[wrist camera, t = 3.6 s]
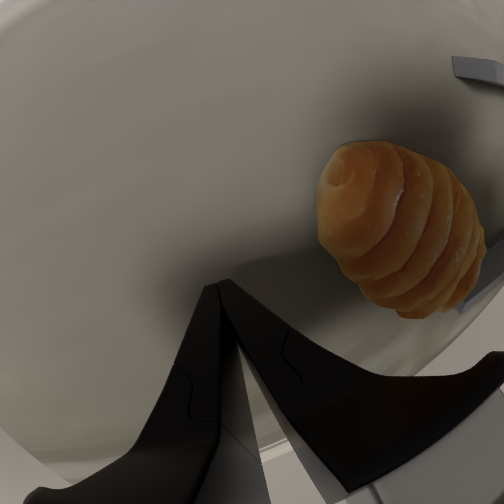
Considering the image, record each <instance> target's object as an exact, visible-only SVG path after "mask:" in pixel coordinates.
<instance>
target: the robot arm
mask: <svg viewBox="0 0 504 504" xmlns="http://www.w3.org/2000/svg"><path fill="white" fill-rule="evenodd" d="M236 340H237V341H236ZM237 343H238V344H237ZM238 345H239V347H240V350H241V352H242V354H243V356H244V358H245V360H246V362H247V364H248V366H249V368H250V370H251V372H252V374H253V376H254V378H255V380H256V382H257V383H258V385H259V387H260V389H261V391H262V393H263V395H264V397H265V399H266V401H267V402H268V404H269V406H270V408H271V410H272V412H273V414H274V415H275V417H276V419H277V421H278V423H279V425H280V426H281V428H282V430H283V432H284V434H285V435H286V437H287V439H288V441H289V442H290V444H291V446H292V448H293V449H294V451H295V452H296V454H297V456H298V458H299V460H300V461H301V463H302V464H303V466H304V468H305V470H306V471H307V473H308V475H309V476H310V478H311V479H312V481H313V483H314V485H315V486H316V488H317V489H318V491H319V492H320V494H321V495H322V497H323V499H324V500H325V502H326V504H334V503H337V502H339V501H342V500H344V499H346V502H347V504H504V394H503V392H502V391H501V390H500V386H501V385H502V384H503V383H504V351H492V352H490V353H488V354H487V355H486V356H485V357H483V358H482V359H481V360H480V361H479V362H478V363H477V364H476V365H475V366H473V367H472V368H471V369H469V370H466V371H464V372H462V373H458V374H455V375H446V376H384V375H379V374H375V373H372V372H369V371H367V370H365V369H363V368H361V367H359V366H357V365H355V364H353V363H351V362H349V361H347V360H345V359H343V358H341V357H339V356H337V355H335V354H334V353H332V352H330V351H328V350H326V349H324V348H323V347H321V346H319V345H317V344H316V343H314V342H312V341H311V340H310V339H308V338H307V337H305V336H304V335H302V334H301V333H299V332H298V331H297V330H295V329H294V328H291V326H290V325H289V324H287V323H286V322H285V321H283V320H282V319H281V318H279V317H278V316H277V315H275V314H274V313H273V312H272V311H270V310H269V309H268V308H266V307H265V306H264V305H262V304H261V303H260V302H259V301H257V300H256V299H255V298H253V297H252V296H251V295H250V294H248V293H247V292H246V291H245V290H243V289H242V288H241V287H239V286H238V285H237V284H236V283H234V282H233V281H232V280H231V279H225V280H222V281H219V282H218V283H213V284H210V285H207V286H205V287H204V288H203V291H202V293H201V296H200V298H199V301H198V303H197V305H196V308H195V310H194V313H193V315H192V318H191V320H190V323H189V325H188V328H187V330H186V333H185V335H184V338H183V340H182V343H181V345H180V348H179V350H178V353H177V356H176V358H175V361H174V365H173V366H172V368H171V371H170V373H169V376H168V378H167V381H166V383H165V386H164V388H163V390H162V392H161V394H160V396H159V398H158V400H157V403H156V405H155V406H154V408H153V410H152V412H151V414H150V416H149V418H148V420H147V422H146V424H145V426H144V428H143V430H142V432H141V434H140V435H139V437H138V439H137V441H136V442H135V444H134V445H133V447H132V448H131V449H130V450H129V451H128V452H127V453H126V454H125V455H123V456H122V457H120V458H119V459H117V460H116V461H114V462H113V463H111V464H109V465H108V466H106V467H105V468H103V469H101V470H100V471H98V472H96V473H95V474H93V475H91V476H89V477H88V478H86V479H84V480H82V481H81V482H79V483H77V484H75V485H73V486H71V487H68V488H64V489H51V488H46V487H38V488H36V489H35V490H34V491H32V492H31V493H29V494H28V496H27V497H26V498H25V500H24V502H23V504H271V502H270V497H269V493H268V489H267V485H266V480H265V476H264V472H263V467H262V465H261V464H262V463H261V458H260V454H259V449H258V445H257V440H256V435H255V430H254V426H253V421H252V416H251V411H250V406H249V401H248V396H247V391H246V386H245V380H244V375H243V370H242V364H241V359H240V354H239V349H238Z"/></svg>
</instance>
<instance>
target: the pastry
mask: <svg viewBox="0 0 504 504" xmlns="http://www.w3.org/2000/svg"><path fill="white" fill-rule="evenodd" d="M315 214H316V219H317V228H318V239H319V242H320V244H321V245H322V246H323V247H324V248H325V249H326V250H327V251H328V252H329V254H330V255H331V256H333V257H334V258H335V259H336V260H337V262H338V264H339V266H340V269H341V271H342V273H343V274H344V275H345V276H346V277H347V278H348V279H350V280H351V281H353V282H355V283H357V284H358V286H359V288H360V289H361V291H362V294H363V295H364V296H365V298H366V299H367V300H368V301H371V302H373V303H375V304H376V305H379V306H381V307H385V308H390V309H395V310H396V312H397V314H398V315H399V316H400V317H402V318H406V319H424V318H426V317H428V316H429V315H430V314H432V313H433V312H442V313H444V312H447V311H448V310H450V309H452V308H454V307H455V306H457V305H458V304H459V303H460V302H462V301H463V300H465V298H466V297H467V296H468V294H469V293H470V292H471V290H472V289H473V288H474V287H475V285H476V284H477V280H478V278H479V274H480V268H481V262H482V259H483V258H484V256H485V254H486V251H487V248H486V245H485V243H484V229H483V227H482V226H481V225H480V223H479V219H478V214H477V210H476V208H475V204H474V201H473V199H472V197H471V195H470V192H469V191H468V190H467V189H466V188H465V187H464V186H463V184H462V183H461V182H459V180H458V178H457V177H456V175H455V174H454V173H453V172H452V171H451V169H450V168H448V167H447V166H444V165H443V164H441V163H440V162H438V161H436V160H432V159H429V158H428V157H426V156H424V155H422V154H419V153H416V152H413V151H410V150H408V149H407V148H405V147H402V146H398V145H395V144H393V143H390V142H387V141H355V142H349V143H346V144H344V145H342V146H340V147H338V148H337V149H336V150H335V152H334V153H333V155H332V157H331V159H330V160H329V162H328V163H327V164H326V166H325V168H324V169H323V171H322V173H321V175H320V178H319V181H318V185H317V191H316V198H315Z"/></svg>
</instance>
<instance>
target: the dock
mask: <svg viewBox="0 0 504 504" xmlns="http://www.w3.org/2000/svg"><path fill="white" fill-rule="evenodd" d="M452 60H453V67H454V74H455V76H458V77H464V78H468V79H473V80H478V81H482V82H486V83H490V84H494V85H497V86H501V87H504V64H501V63H499V62H497V61H495V60H488V59H479V58H469V57H456V56H452ZM503 279H504V238H503V239H501V240H500V241H499V242H497V243H496V244H494V245H493V246H492V247H490V248H489V249H487V251H486V254H485V256H484V258H483V259H482V262H481V268H480V274H479V278H478V280H477V284H476V285H475V287H474V288H473V289H472V290H471V292H470V293H469V294H468V296H467V297H466V298H465V300H463V301H462V302H460V303H459V304H458V305H457V306H455V307H454V309H455V310H457V311H458V312H459V313H460V314H463V313H464V312H465V311H467V310H468V309H469V308H470V307H472V306H473V305H474V304H475V303H477V302H478V301H479V300H480V299H482V298H483V297H484V296H485V295H486V294H488V293H489V292H490V291H491V290H492V289H493V288H494V287H496V286H497V285H498V284H499V283H500V282H501V281H502V280H503Z"/></svg>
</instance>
